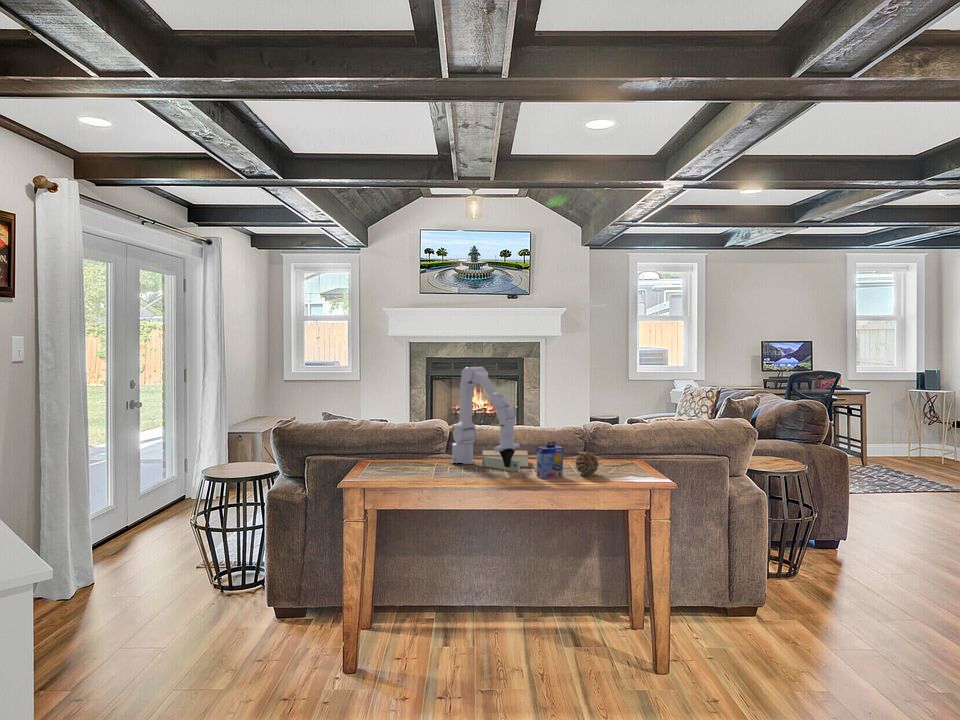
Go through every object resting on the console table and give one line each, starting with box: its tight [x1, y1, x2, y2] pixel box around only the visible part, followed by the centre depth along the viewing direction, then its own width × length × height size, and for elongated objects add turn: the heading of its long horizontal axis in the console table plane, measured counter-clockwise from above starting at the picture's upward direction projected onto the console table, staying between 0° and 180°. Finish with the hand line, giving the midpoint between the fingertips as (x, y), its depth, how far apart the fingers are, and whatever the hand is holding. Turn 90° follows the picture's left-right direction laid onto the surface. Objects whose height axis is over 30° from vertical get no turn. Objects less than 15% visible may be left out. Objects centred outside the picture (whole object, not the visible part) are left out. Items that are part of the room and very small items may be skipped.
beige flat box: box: [481, 449, 529, 468], centre depth 295 cm, size 20×12×5 cm, turn 88°
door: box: [482, 456, 521, 472], centre depth 283 cm, size 19×2×4 cm, turn 55°
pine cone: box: [574, 451, 600, 476], centre depth 274 cm, size 22×10×10 cm, turn 2°
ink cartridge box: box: [536, 441, 564, 480], centre depth 267 cm, size 10×6×14 cm, turn 113°
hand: (506, 466), depth 280 cm, fingers closed
